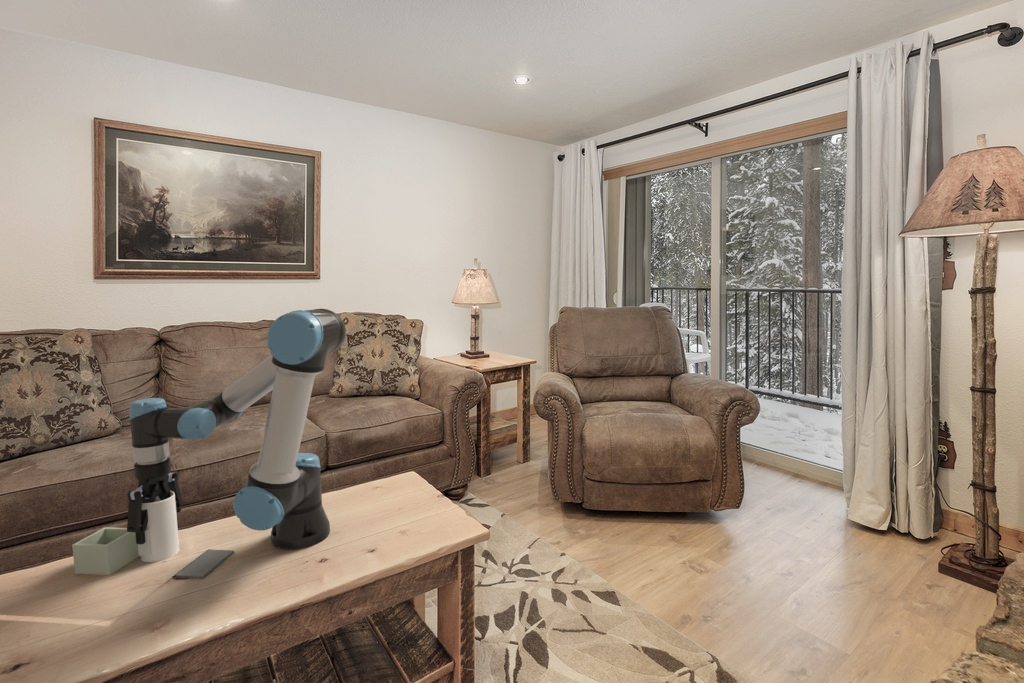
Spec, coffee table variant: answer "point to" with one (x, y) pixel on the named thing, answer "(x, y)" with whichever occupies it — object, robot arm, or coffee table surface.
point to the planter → (105, 551)
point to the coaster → (204, 564)
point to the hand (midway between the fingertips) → (158, 545)
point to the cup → (162, 528)
